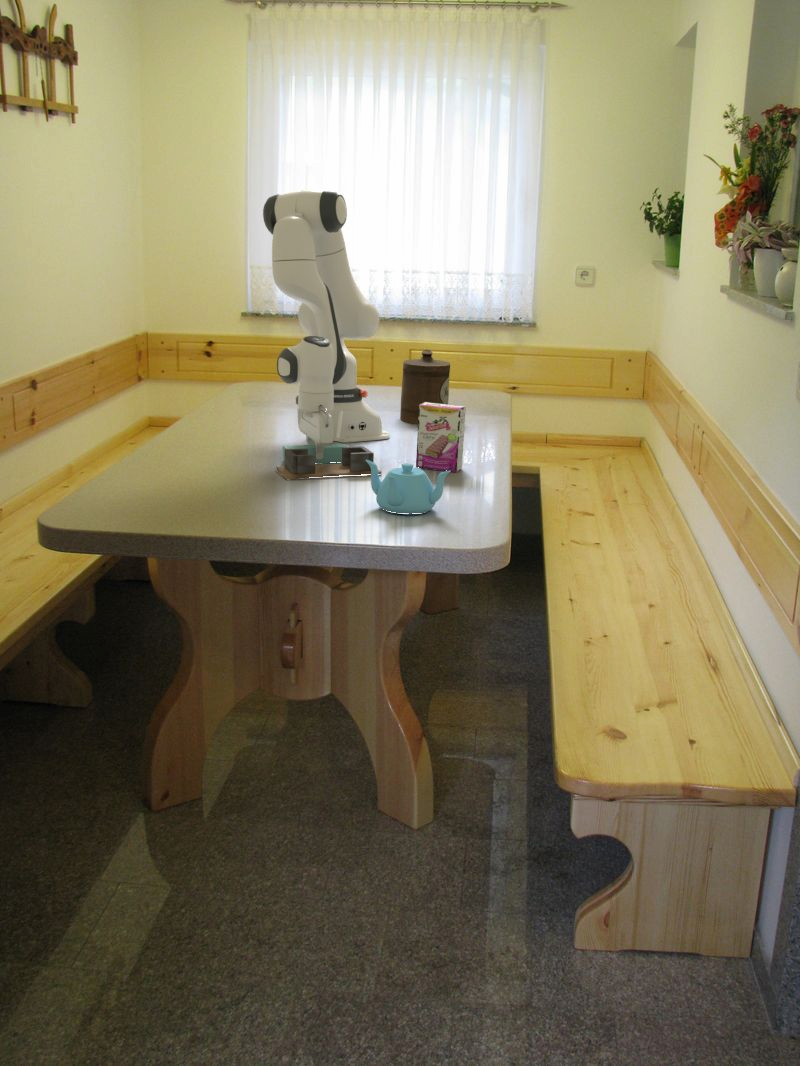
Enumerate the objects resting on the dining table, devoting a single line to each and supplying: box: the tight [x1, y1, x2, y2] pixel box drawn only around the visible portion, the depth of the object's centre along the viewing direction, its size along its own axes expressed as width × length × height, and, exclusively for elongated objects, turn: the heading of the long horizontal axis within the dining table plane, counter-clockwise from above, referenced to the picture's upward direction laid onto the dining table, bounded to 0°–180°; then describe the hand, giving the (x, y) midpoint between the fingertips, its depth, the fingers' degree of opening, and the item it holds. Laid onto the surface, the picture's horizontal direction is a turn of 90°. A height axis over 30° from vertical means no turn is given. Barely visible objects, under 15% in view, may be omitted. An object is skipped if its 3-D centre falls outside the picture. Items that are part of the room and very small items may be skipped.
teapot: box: [366, 460, 452, 514], centre depth 241 cm, size 15×15×10 cm
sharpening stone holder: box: [276, 445, 382, 480], centre depth 272 cm, size 24×10×6 cm, turn 110°
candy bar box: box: [415, 402, 466, 473], centre depth 279 cm, size 11×5×16 cm, turn 71°
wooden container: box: [399, 349, 451, 425], centre depth 343 cm, size 15×15×22 cm
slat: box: [282, 443, 348, 464], centre depth 283 cm, size 16×4×4 cm, turn 110°
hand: (315, 455), depth 283 cm, fingers open, 5 cm apart
